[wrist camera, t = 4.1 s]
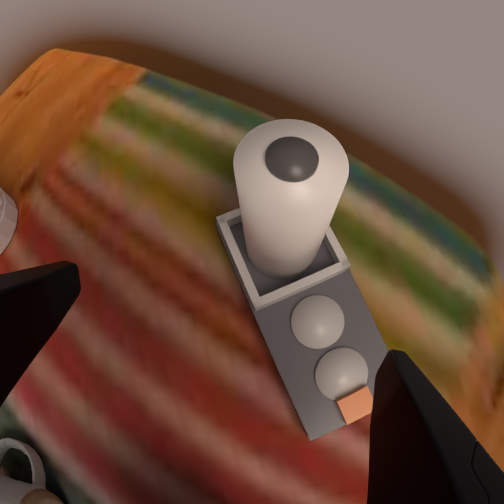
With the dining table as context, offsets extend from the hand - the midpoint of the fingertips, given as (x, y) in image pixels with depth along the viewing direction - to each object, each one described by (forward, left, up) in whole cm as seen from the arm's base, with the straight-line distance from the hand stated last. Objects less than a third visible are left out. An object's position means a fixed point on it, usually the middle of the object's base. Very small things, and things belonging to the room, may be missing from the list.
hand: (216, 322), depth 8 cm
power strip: (+5, +1, -12) cm, 13 cm away
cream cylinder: (+5, +5, -11) cm, 13 cm away
